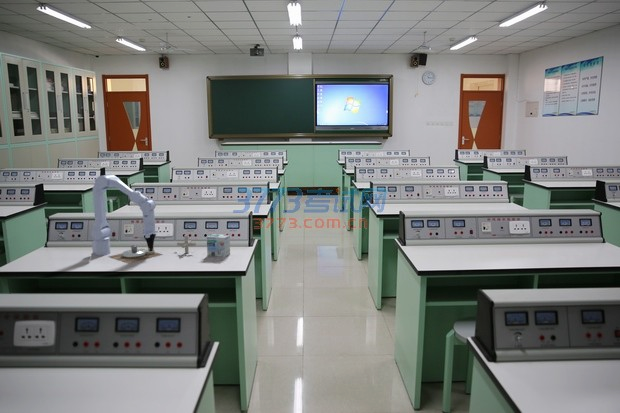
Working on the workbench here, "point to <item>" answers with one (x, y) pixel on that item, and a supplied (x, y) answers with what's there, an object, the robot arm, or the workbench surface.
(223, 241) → the light bulb box
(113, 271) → the workbench surface
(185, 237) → the pipe connector
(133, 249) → the post
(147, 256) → the base board
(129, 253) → the crank
